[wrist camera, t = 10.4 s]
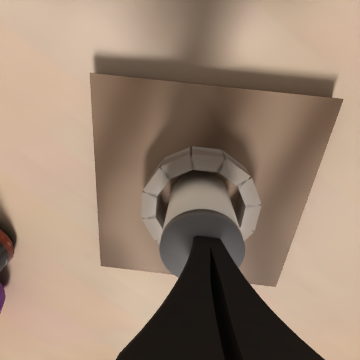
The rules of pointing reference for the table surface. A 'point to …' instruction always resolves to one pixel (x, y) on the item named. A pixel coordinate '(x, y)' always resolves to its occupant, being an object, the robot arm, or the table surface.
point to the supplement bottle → (5, 249)
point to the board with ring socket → (203, 163)
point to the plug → (198, 220)
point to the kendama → (2, 296)
